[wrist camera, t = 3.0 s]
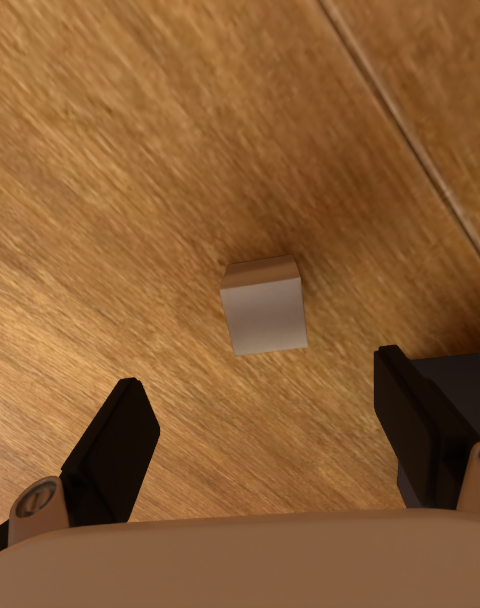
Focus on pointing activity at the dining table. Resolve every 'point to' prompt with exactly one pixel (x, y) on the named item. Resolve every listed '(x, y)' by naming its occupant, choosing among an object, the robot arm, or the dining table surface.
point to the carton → (460, 391)
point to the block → (264, 305)
